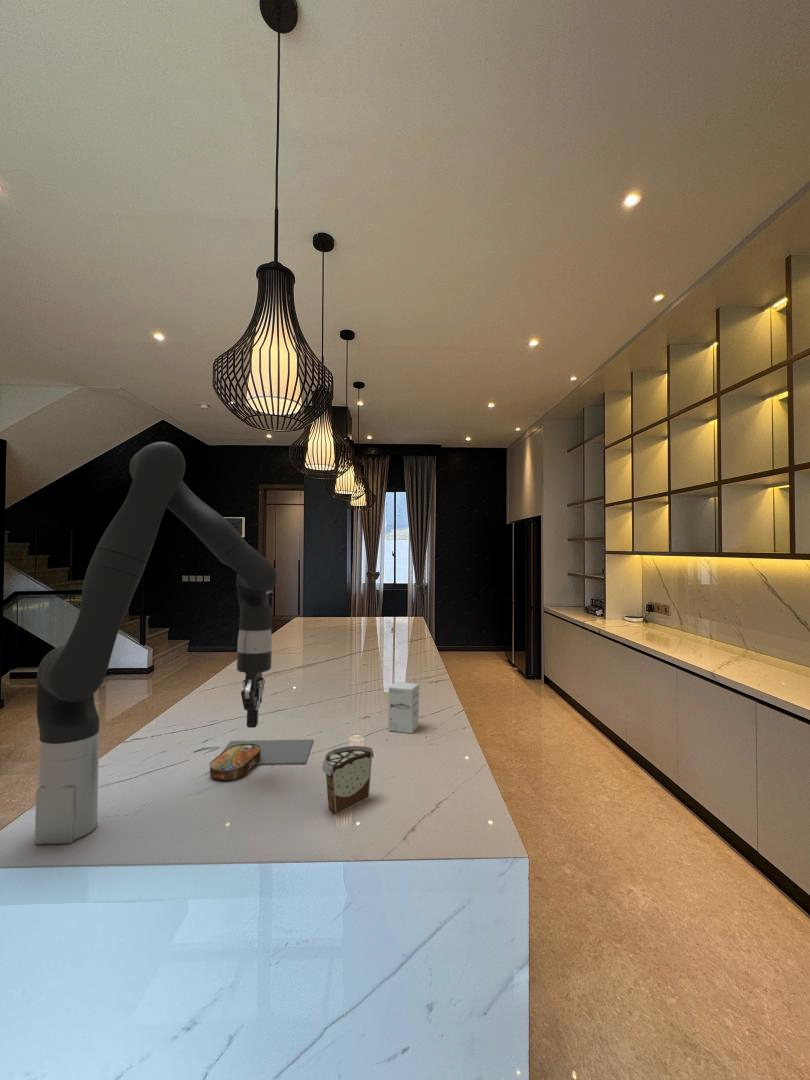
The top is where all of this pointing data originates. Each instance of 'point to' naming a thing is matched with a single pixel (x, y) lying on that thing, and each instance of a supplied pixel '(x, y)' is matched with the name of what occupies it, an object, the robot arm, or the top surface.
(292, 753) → the mat
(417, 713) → the supplement box
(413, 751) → the top surface
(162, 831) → the top surface
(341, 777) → the food container
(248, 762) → the tin
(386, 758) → the top surface
